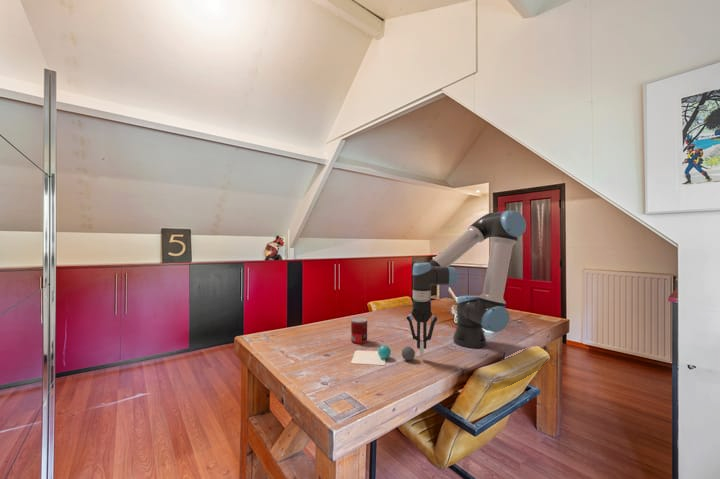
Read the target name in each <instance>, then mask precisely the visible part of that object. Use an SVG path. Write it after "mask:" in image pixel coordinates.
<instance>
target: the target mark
mask: <svg viewBox="0 0 720 479" xmlns="http://www.w3.org/2000/svg"><path fill="white" fill-rule="evenodd" d="M386 360H387V359H382V358H381V357H380V356H379V355H378V350H355V351H354V354H353V356H352V358H351V361H350V364H354V365H370V366H386Z"/></svg>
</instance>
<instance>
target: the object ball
mask: <svg viewBox="0 0 720 479" xmlns="http://www.w3.org/2000/svg"><path fill="white" fill-rule="evenodd" d="M377 351H378V355H379V356H380V357H381V358H382V359H386V360H387V359H388V358H390V357H391V355H392V352H391V348H390V347H389V346H388V345H385V344H383V345H381V346H379V347H378V349H377Z"/></svg>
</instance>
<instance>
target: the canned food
mask: <svg viewBox="0 0 720 479" xmlns="http://www.w3.org/2000/svg"><path fill="white" fill-rule="evenodd" d="M350 324H351V325H350V326H351V328H350V330H351V332H350V334H351V337H350V340H351V343H352V344H355V345H363V344H366V343H367V342H368V318H366V317H365V318H364V317H353V318H352V319H351V322H350Z"/></svg>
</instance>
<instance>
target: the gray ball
mask: <svg viewBox="0 0 720 479" xmlns="http://www.w3.org/2000/svg"><path fill="white" fill-rule="evenodd" d="M401 356H402V358H403V359H404V360H405V361H408V362H409V361H413V359H415V356H416V352H415V350H414V348H413V347H412V346H405V347H404V348H402V350H401Z"/></svg>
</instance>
